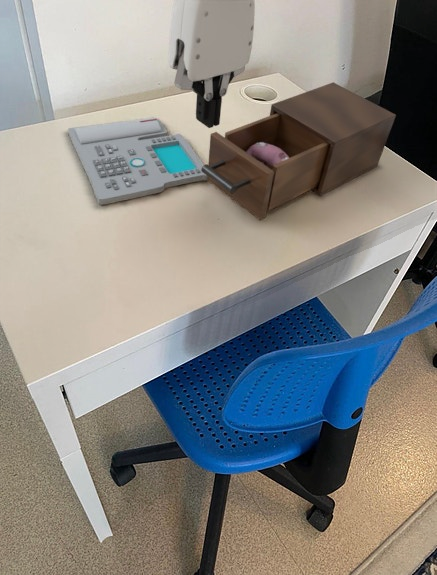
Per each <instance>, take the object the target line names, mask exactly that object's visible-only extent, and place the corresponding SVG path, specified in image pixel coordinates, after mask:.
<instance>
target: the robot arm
mask: <svg viewBox="0 0 437 575" xmlns="http://www.w3.org/2000/svg"><path fill="white" fill-rule="evenodd" d="M255 2H256V1H255V0H173V5H172V11H171V17H170V18H171V20H170V29H169V42H168V66H169V67H170V69H173V70H176V72H175V78H174V86H175V87H176V88H178V89H180V90H181V91H192V92H193V93H194V94H196V103H195V104H196V105H195V119H196V120H197V121H198V122H200V123H201V124H202V125H204V126H205V127H206V128H208V129H212V128H214V127H217V126H219V125H220V122H221V111H222V102H223V97H225V96H226V95H227V92H228V88H229V85H230V83H231V82H232V80H233V79H234V78H235V77H238V76H239V75H241V74H242V73H244V72H245V70H246V66H247V65H248V64H249V61H250V59H251V58H250V57H251V54H252V48H253V40H254V30H255V29H254V28H255V12H256V8H255V7H256V6H255V4H256V3H255Z"/></svg>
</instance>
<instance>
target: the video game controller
mask: <svg viewBox="0 0 437 575" xmlns="http://www.w3.org/2000/svg"><path fill="white" fill-rule="evenodd" d="M246 153H248V154H249V155H251V156H252V157H254V158H255V159H257V160H258V161H259V162H261V163H262V164H264V165H265V166H267V167H268V165H267V163H268V164H269V165H270V166H272V167H273V165H275V164H277V163H280V162H282V161H284V160H286V159H289V156H288V155H287V154H286V153H285V152H284V151H282V150H281V149H280V148H278V147H276V146H274V145H271V144H267V143H263V142H261V143H256V144H254V145H252V146H251V147H250V148H249V149H248V150H247V151H246Z"/></svg>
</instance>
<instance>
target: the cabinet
mask: <svg viewBox="0 0 437 575" xmlns="http://www.w3.org/2000/svg"><path fill="white" fill-rule="evenodd" d="M276 113H279V114H281V115H282V116H284V117H286V118H287V119H289V120H291V121H292V122H294V123H296V124H297V125H299V126H301V127H302V128H304V129H306V130H307V131H309V132H311V133H312V134H314V135H316V136H317V137H319V138H321V139H322V140H324V141H326V142H327V143H329V144H331V145H330V148H329V152H328V156H327V159H326V163H325V167H324V170H323V174H322V177H321V181H320V185H319V186H317V187H315V188H313V189H311V190H310V191H312V192H313V193H314V194H316V195H317V196H319V197H321V196H323V195H325V194H327V193H329V192H331V191H333V190H335V189H338V188H339V187H340V186H342V185H344V184H347V183H348V182H350V181H352V180H354V179H356V178H357V177H360V176H362V175H364V174H365V173H367V172H369V171H371V170H374V169H375V168H377V167H378V165H379V163H380V161H381V157H382V155H383V152H384V150H385V146H386V144H387V142H388V141H387V140H388V138H389V135H390V133H391V130H392V127H393V125H394V122H395V119H396V116H397V114H395V113H393V112H391V111H389V110H388V109H386V108H383V107H382V106H380V105H378V104H376V103H374V102H373V101H370V100H368V99H367V98H364V97H362V96H361V95H359V94H357V93H355V92H353V91H351V90H349V89H347V88H345V87H343V86H342V85H339V84H338V83H335V82H330V83H327V84H324V85H322V86H319V87H316V88H313V89H310V90H308V91H305V92H301V93H299V94H297V95H294V96H291V97H289V98H285V99H282V100H280V101H277V102H275V103H272V104H271V106H270V112H269V116H271V115H274V114H276Z"/></svg>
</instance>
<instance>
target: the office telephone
mask: <svg viewBox="0 0 437 575" xmlns="http://www.w3.org/2000/svg"><path fill="white" fill-rule="evenodd" d="M67 131H68V136H69V138H70V140H71V143H72V145H73V147H74V149H75V151H76V154H77V156H78V158H79V160H80V162H81V164H82V167H83V169H84V171H85V173H86V176H87V178H88V180H89V182H90V184H91V186H92V189H93V193H94V196H95V199H96V200H97V202H98V205H100V206H101V205H109V204H113V203H118V202H122V201H126V200H127V201H128V200H131V199H135V198H140V197H145V196H150V195H155V194H158V193H162V192H164V191H165V189H168V188H171V187H176V186H180V185H184V184H190V183H194V182H200V181H201V182H202V181H208V180H207V175H205V174H204V173H203V172H202V171H201V169H202V167H203V166H204V165H205V164H204V163H203V161H202V160H201V159H200V157H199V156H198V154H197V153H196V152H195V150H194V149H193V147H192V146H191V145H190V143H189V142H188V141H187V139H186V138H185V137H184V136H183V134H181V133H175V134H169V135H168V130H167V129H166V127H165V125H164V124H163V123H162V121H161V120H160V119H159V118H158V117H154V116H151V117H143V118H139V119H138V118H136V119H131V120H122V121H121V120H120V121H115V122H106V123H99V124H91V125H85V126H77V127H68V129H67Z"/></svg>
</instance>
